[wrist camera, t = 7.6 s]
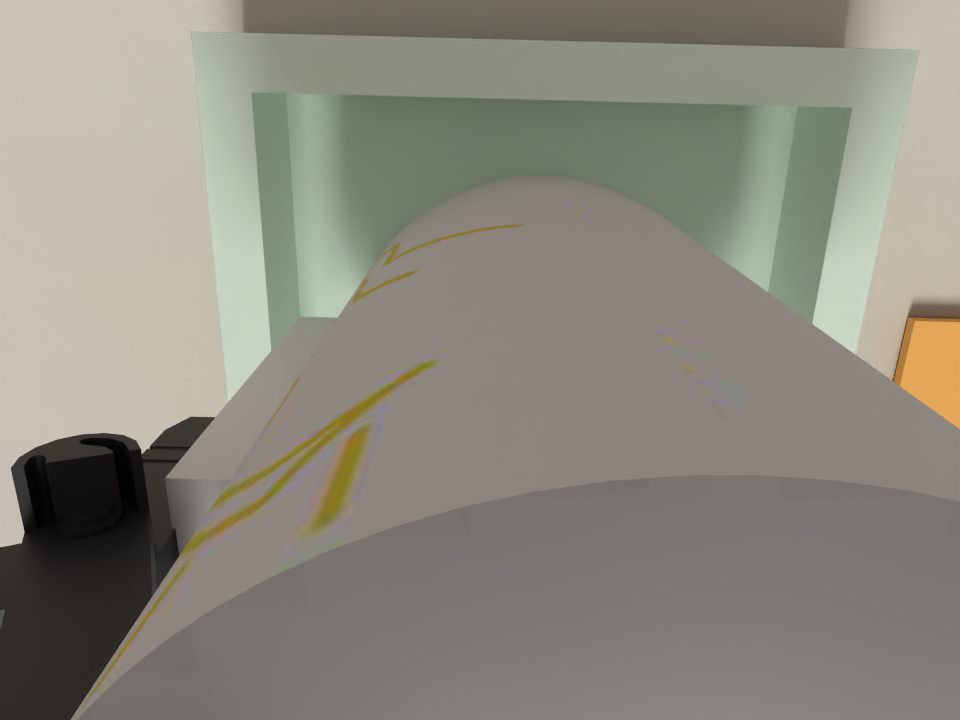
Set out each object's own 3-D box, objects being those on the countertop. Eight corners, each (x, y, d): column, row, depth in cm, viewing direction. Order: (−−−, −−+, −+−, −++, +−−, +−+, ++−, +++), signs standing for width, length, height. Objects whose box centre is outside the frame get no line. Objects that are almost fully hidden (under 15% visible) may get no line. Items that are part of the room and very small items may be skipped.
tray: (283, 552, 20) (250, 626, 18) (243, 41, 16) (190, 31, 13) (753, 564, 20) (795, 640, 18) (843, 57, 16) (919, 50, 13)
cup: (392, 125, 14) (13, 258, 3) (788, 237, 15) (1758, 706, 3) (312, 485, 17) (-45, 1289, 6) (650, 567, 17) (947, 1433, 6)
